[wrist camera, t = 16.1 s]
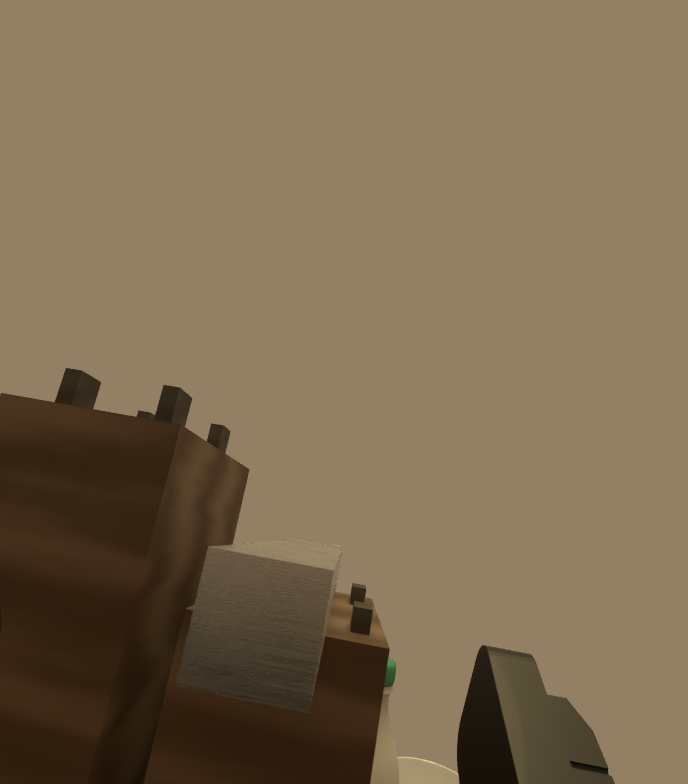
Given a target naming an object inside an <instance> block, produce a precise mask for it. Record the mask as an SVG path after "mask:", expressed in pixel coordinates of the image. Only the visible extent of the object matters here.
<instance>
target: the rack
mask: <svg viewBox="0 0 688 784" xmlns="http://www.w3.org/2000/svg"><path fill="white" fill-rule="evenodd" d="M100 384H101V382H100V381H98V380H96V379H95V378H93V377H92V376H90V375H88V374H87V373H85V372H83V371H81V370H75V369H69V368H66V370H65V373H64V376H63V379H62V382H61V385H60V388H59V391H58V394H57V397H56V400H55V402H49V401H43V400H38V399H32V398H27V397H21V396H15V395H10V394H4V393H1V395H0V606H1V631H0V784H370V781H371V774H372V768H373V761H374V754H375V747H376V740H377V733H378V726H379V719H380V712H381V705H382V698H383V691H384V684H385V677H386V670H387V663H388V656H389V646H388V643H387V640H386V638H385V635H384V632H383V629H382V626H381V624H380V621H379V618H378V615H377V613H376V610H375V607H374V604H373V601H372V599H369V598H365V594H366V587H365V585H360V584H354V583H353V584H352V589H351V595H349V594H343V593H338V592H335V596H334V600H333V605H332V609H331V614H330V619H329V623H328V628H327V632H326V637H325V642H324V646H323V651H322V655H321V660H320V664H319V669H318V674H317V678H316V683H315V687H314V692H313V696H312V701H311V706H310V710H309V713H304V712H299V711H295V710H290V709H285V708H280V707H275V706H270V705H265V704H260V703H255V702H250V701H246V700H241V699H236V698H231V697H226V696H221V695H216V694H211V693H206V692H202V691H197V690H192V689H187V688H182V687H177V686H175V685H176V681H177V677H178V673H179V668H180V664H181V660H182V656H183V651H184V647H185V643H186V639H187V634H188V630H189V626H190V622H191V617H192V613H193V609H194V605H195V600H196V596H197V592H198V588H199V583H200V579H201V575H202V571H203V566H204V562H205V558H206V554H207V549H208V547H210V546H221V545H232V544H233V540H234V536H235V531H236V527H237V522H238V518H239V513H240V509H241V504H242V500H243V495H244V491H245V486H246V482H247V477H248V473H249V469H248V468H246V467H245V466H243V465H242V464H240V463H239V462H237V461H236V460H234V459H232V458H231V457H230V456H228V455H226V454H225V452H226V448H227V444H228V440H229V435H230V431H229V430H228V429H227V428H226V427H225V426H223V425H217V424H211V427H210V431H209V435H208V439H207V441H205V440H203V439H202V438H200V437H199V436H197V435H196V434H194V433H192V432H191V431H190V430H188V429H187V428H185V424H186V420H187V416H188V413H189V408H190V405H191V401H192V398H191V397H190V396H189V395H188V394H187V393H186V392H184V391H183V390H182V389H181V388H179V387H172V386H167V385H164V386H163V390H162V393H161V396H160V400H159V404H158V407H157V411H156V415H153V414H152V413H149V412H144V411H138V414H137V417H134V416H128V415H122V414H117V413H111V412H106V411H100V410H94V409H93V407H94V404H95V401H96V398H97V394H98V391H99V387H100Z"/></svg>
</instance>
